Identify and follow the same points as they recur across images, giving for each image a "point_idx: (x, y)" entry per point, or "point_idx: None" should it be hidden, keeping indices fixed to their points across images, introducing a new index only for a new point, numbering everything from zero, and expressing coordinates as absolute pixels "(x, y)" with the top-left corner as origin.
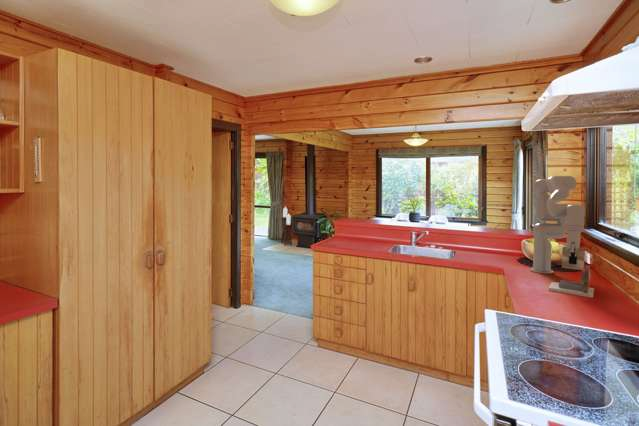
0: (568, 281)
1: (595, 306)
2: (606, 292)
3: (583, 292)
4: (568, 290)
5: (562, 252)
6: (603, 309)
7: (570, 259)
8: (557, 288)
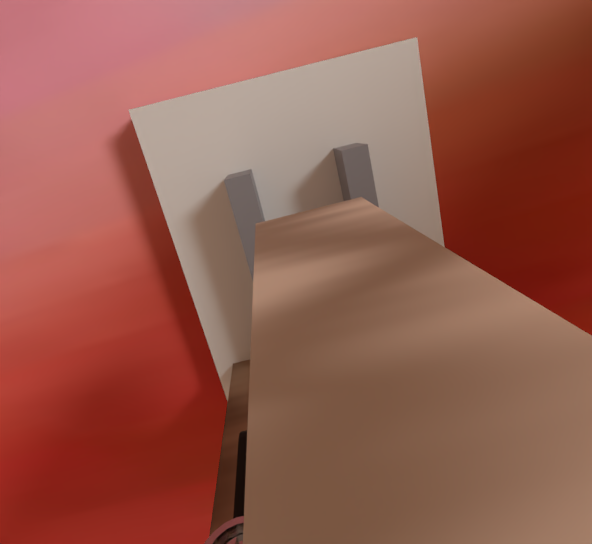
0: None
1: (34, 470)
2: None
3: (233, 364)
4: (194, 270)
5: (251, 381)
6: (15, 511)
7: None
8: (174, 182)
